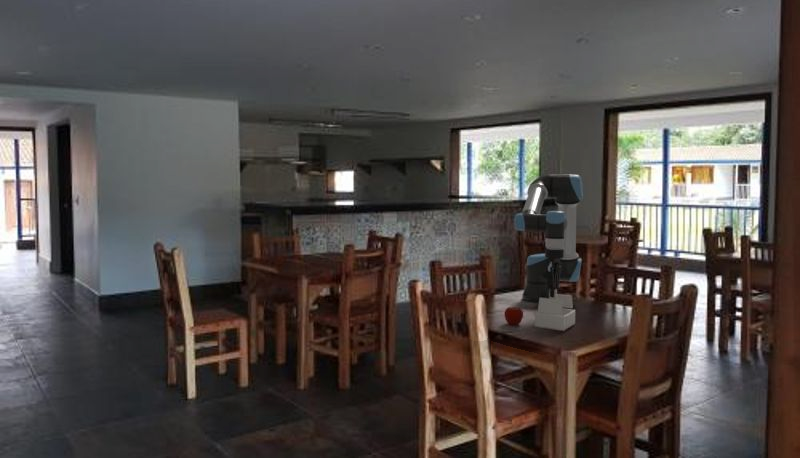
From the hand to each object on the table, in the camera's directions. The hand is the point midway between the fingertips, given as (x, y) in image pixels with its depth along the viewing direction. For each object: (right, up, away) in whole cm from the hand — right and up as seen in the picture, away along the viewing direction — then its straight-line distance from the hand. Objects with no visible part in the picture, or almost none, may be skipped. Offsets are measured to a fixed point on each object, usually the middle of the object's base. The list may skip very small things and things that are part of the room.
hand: (552, 304), depth 263 cm
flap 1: (-1, 0, -2) cm, 3 cm away
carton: (+2, -9, +4) cm, 10 cm away
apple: (-15, -9, +5) cm, 19 cm away
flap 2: (+6, 0, +9) cm, 10 cm away
